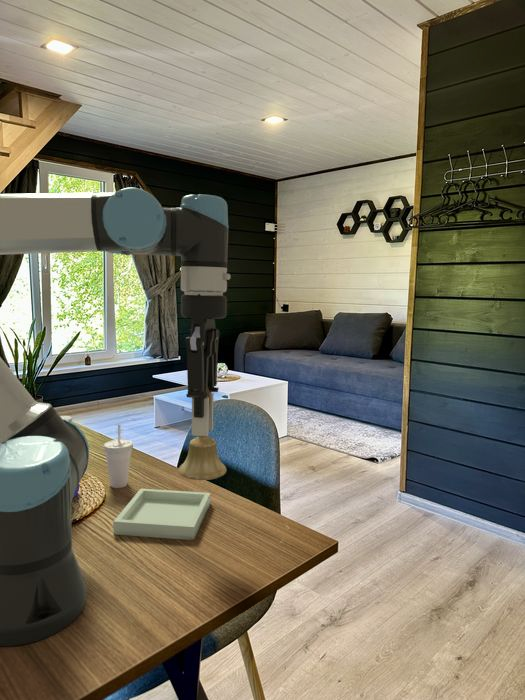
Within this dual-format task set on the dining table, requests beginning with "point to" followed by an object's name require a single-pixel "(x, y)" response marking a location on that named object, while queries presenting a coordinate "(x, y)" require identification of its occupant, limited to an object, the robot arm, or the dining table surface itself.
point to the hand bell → (202, 459)
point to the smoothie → (118, 460)
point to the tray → (163, 514)
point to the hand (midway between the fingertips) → (202, 432)
